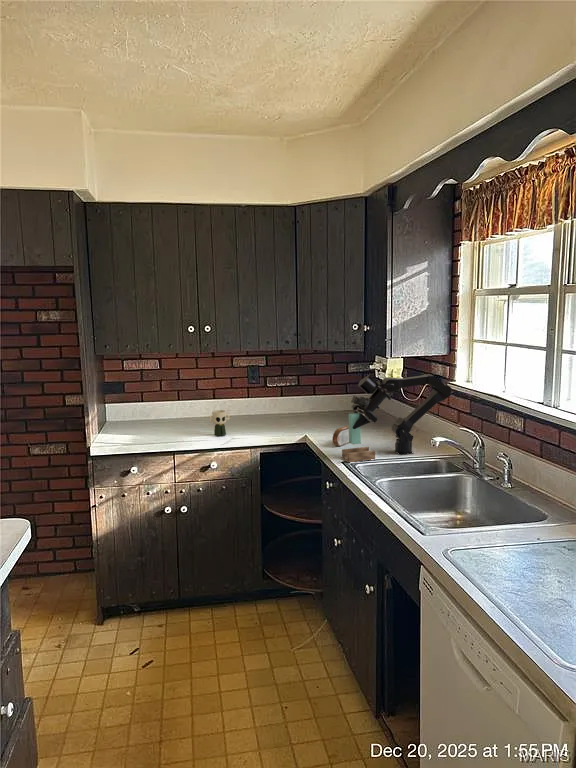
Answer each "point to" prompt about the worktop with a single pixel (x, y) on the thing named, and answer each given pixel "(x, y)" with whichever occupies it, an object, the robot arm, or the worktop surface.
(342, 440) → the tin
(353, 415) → the block
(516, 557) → the worktop surface
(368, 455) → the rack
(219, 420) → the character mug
